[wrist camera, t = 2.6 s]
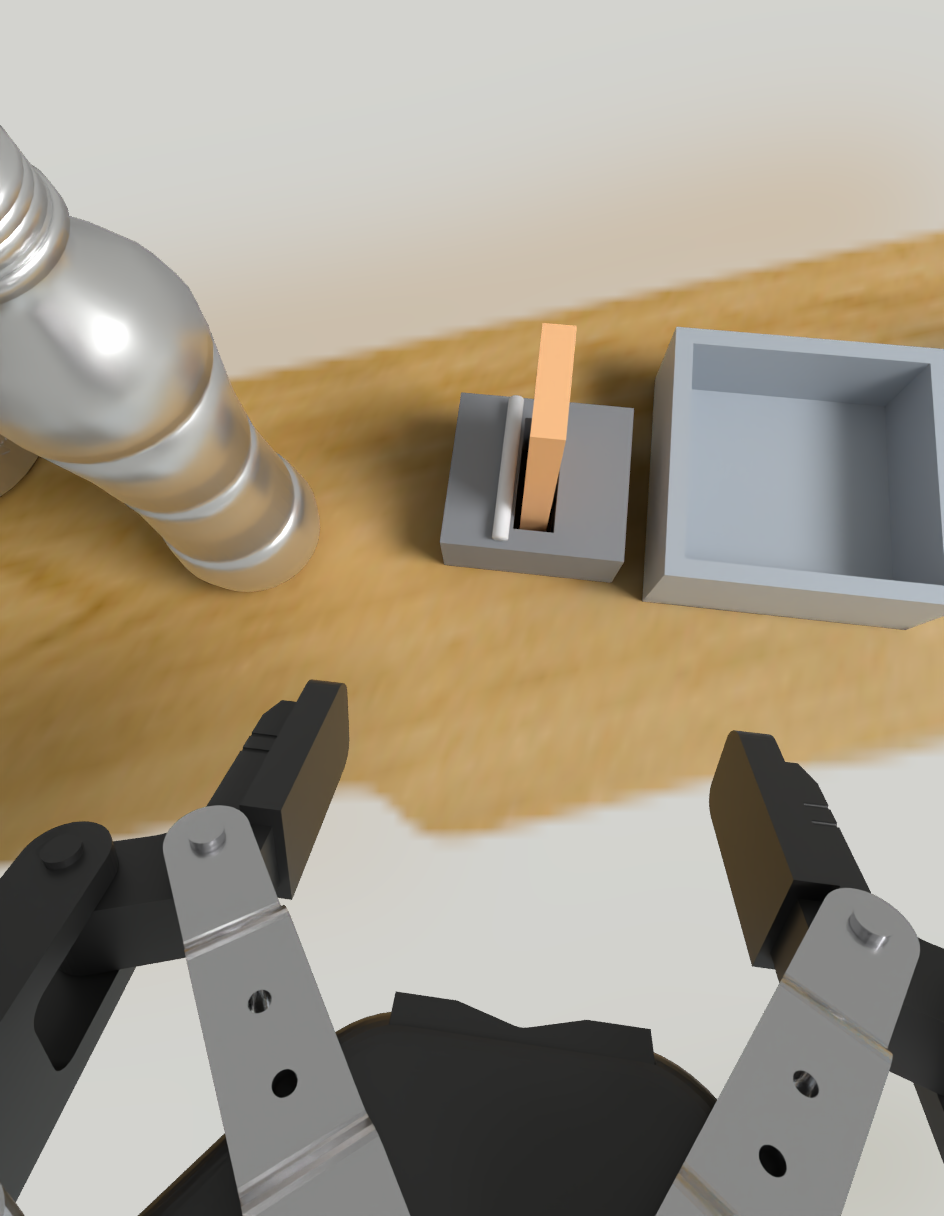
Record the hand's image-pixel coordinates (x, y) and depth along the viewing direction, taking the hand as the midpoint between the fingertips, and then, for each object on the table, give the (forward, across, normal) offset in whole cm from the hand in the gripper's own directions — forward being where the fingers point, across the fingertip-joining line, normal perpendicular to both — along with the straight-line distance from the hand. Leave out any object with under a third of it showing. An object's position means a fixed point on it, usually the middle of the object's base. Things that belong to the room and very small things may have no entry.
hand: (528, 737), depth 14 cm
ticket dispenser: (+20, 0, +2) cm, 20 cm away
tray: (+21, -11, +1) cm, 24 cm away
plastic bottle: (+17, +13, +5) cm, 22 cm away
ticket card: (+20, 0, +2) cm, 20 cm away
